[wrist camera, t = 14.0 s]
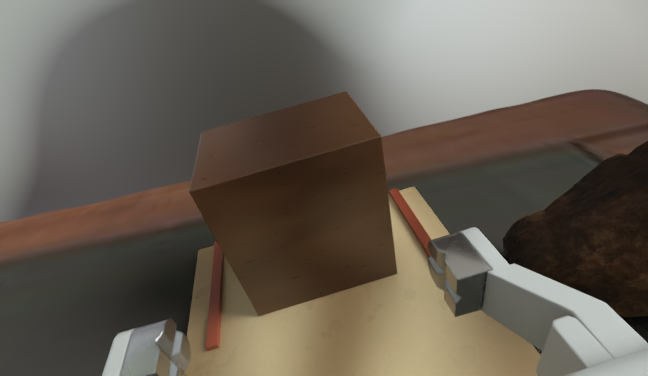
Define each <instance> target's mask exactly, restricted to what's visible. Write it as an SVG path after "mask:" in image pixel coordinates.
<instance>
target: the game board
mask: <svg viewBox="0 0 648 376" xmlns="http://www.w3.org/2000/svg"><path fill="white" fill-rule="evenodd" d="M388 197H389V206H390V214H391V223H392V231H393V240H394V248H395V257H396V265H397V274H395V275H392V276H389V277H385V278H382V279H379V280H376V281H372V282H369V283H366V284H363V285H359V286H356V287H353V288H350V289H346V290H343V291H340V292H336V293H333V294H330V295H327V296H323V297H320V298H317V299H314V300H310V301H307V302H304V303H301V304H297V305H294V306H291V307H288V308H284V309H281V310H278V311H275V312H271V313H268V314H265V315H262V316H258V314H257V312H256V310H255V309H254V307H253V305H252V303H251V302H250V300H249V298H248V296H247V294H246V293H245V291H244V289H243V287H242V285H241V284H240V282H239V280H238V278H237V276H236V275H235V273H234V271H233V269H232V267H231V266H230V264H229V262H228V260H227V259H226V257H225V255H224V253H223V251H222V250H221V248H220V246H219V244H218V242H217V241H215V242H214V246H211V247H207V248H204V249H200V250H199V251H198V258H197V265H196V273H195V280H194V287H193V295H192V302H191V309H190V316H189V324H188V331H187V339H188V341H189V343H190V351H191V357H190V364H189V365H188V367H187V368H186V370H185V371H184V373H185V374H186V376H539V375H538V374H537V372H536V367H537V364H538V361H539V358H540V354H539V353H538V352H537V350H536V349H535V348H534V346H533V345H532V344H531V343H530V342H528V341H526V340H525V339H523V338H522V337H520V336H519V335H517V334H516V333H514V332H513V331H511V330H510V329H508V328H507V327H505V326H504V325H502V324H501V323H499V322H498V321H496V320H495V319H493V318H491V317H490V316H488V315H487V314H485V313H484V312H482V310H479V311H476V312H472V313H468V314H465V315H461V316H458V317H455V316H454V315H453V313H452V311H451V310H450V308H449V306H448V305H447V303H446V301H445V300H444V291H443V290H441V289H439V288H438V287H437V286H436V284H435V283H434V281H433V279H432V276H431V274H430V271H429V267H428V258H429V257H430V255H431V254H430V252H429V251H428V242H429V241H430V240H433V239H437V238H440V237H443V236H446V235H449V233H448V231H447V230H446V229H445V227H444V226H443V225H442V223H441V222H440V221H439V219H438V218H437V216H436V215H435V214H434V212H433V211H432V210H431V208H430V207H429V206H428V204H427V203H426V202H425V200H424V199H423V198H422V196H421V195H420V194H419V192H418V191H417V190H416V188H415V187H410V188H407V189H403V190H400V191H399V190H398V189H397V188H395V189H391V190H389V194H388Z"/></svg>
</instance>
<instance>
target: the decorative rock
mask: <svg viewBox="0 0 648 376" xmlns="http://www.w3.org/2000/svg"><path fill="white" fill-rule="evenodd" d="M503 246H504V250H505V253H506V255H507V257H508V259H509V262H510V264H514V263H515V264H517V265H519V266H522V267H524V268H526V269H529V270H531V271H533V272H536V273H538V274H540V275H543V276H545V277H547V278H550V279H552V280H554V281H557V282H559V283H561V284H564V285H566V286H568V287H571V288H573V289H575V290H578V291H580V292H582V293H585V294H587V295H589V296H592V297H594V298H596V299H598V300H601V301H603V302H605V303H606V304H608V305H609V306H610V307H611V308H612V309H613V310H614V311H615V312H616V313H617V314H618V315H619V316H623V317H636V316H648V141H647V142H645V143H644V144H642V145H640V146H638V147H637V148H635V149H634V150H633V151H632V152H631V153H630V154H617V155H614V156H612V157H610V158H608V159H606V160H604V161H603V162H601V163H600V164H599V165H598V166H596V167H595V168H594V169H593V170H592V171H591V172H589V173H588V174H587V175H586V176H584V177H583V178H582V179H581V180H580V181H579V182H578V183H576V184H575V185H574V186H573V187H572V188H571V189H569V190H568V191H567V192H566V193H564V194H563V195H562V196H560V197H559V198H558V199H556V200H555V201H554V202H552V203H551V204H550V205H549V206H548V207H547V208H546V209H545V210H544V211H538V212H536V213H533V214H531V215H527V216H525V217H523V218H522V219H520V220H518V221H517V222H515V223H514V224H513V225H512V227H511V228H510V229H509V231H508V232H507V233H506V235H505V237H504V238H503Z"/></svg>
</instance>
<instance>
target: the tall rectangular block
mask: <svg viewBox="0 0 648 376" xmlns="http://www.w3.org/2000/svg"><path fill="white" fill-rule="evenodd" d="M189 192H190V194H191V196H192V198H193V199H194V201H195V203H196V205H197V207H198V208H199V210H200V212H201V214H202V216H203V217H204V219H205V221H206V223H207V224H208V226H209V228H210V230H211V232H212V233H213V235H214V237H215V239H216V241H217V242H218V244H219V246H220V248H221V250H222V251H223V253H224V255H225V257H226V259H227V260H228V262H229V264H230V266H231V267H232V269H233V271H234V273H235V275H236V276H237V278H238V280H239V282H240V284H241V285H242V287H243V289H244V291H245V293H246V294H247V296H248V298H249V300H250V302H251V303H252V305H253V307H254V309H255V310H256V312H257V314H258V316H262V315H265V314H268V313H271V312H275V311H278V310H281V309H284V308H288V307H291V306H294V305H297V304H301V303H304V302H307V301H310V300H314V299H317V298H320V297H323V296H327V295H330V294H333V293H336V292H340V291H343V290H346V289H350V288H353V287H356V286H359V285H363V284H366V283H369V282H372V281H376V280H379V279H382V278H385V277H389V276H392V275H395V274H397V265H396V257H395V248H394V240H393V231H392V223H391V214H390V206H389V197H388V189H387V180H386V172H385V163H384V155H383V146H382V138H381V135H380V134H379V133H378V132H377V130H376V129H375V128H374V127H373V125H372V124H371V122H370V121H369V120H368V119H367V117H366V116H365V115H364V114H363V112H362V111H361V110H360V108H359V107H358V106H357V104H356V103H355V102H354V101H353V99H352V98H351V97H350V95H349V94H348V93H347V92H342V93H339V94H335V95H332V96H328V97H325V98H321V99H317V100H314V101H310V102H307V103H303V104H300V105H296V106H292V107H289V108H286V109H282V110H278V111H275V112H271V113H267V114H264V115H261V116H257V117H253V118H250V119H246V120H242V121H239V122H235V123H232V124H228V125H224V126H221V127H218V128H214V129H210V130H207V131H203V132H202V133H201V137H200V142H199V147H198V152H197V157H196V161H195V166H194V171H193V176H192V180H191V185H190V190H189Z"/></svg>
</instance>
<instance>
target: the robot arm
mask: <svg viewBox="0 0 648 376" xmlns="http://www.w3.org/2000/svg"><path fill="white" fill-rule="evenodd" d="M428 251H429V252H430V254H431V255H430V257H429V258H428V267H429V271H430V274H431V276H432V279H433V281H434V283H435V284H436V286H437V287H438V288H439V289H441V290H443V291H444V300H445V301H446V303H447V305H448V306H449V308H450V310H451V311H452V313H453V315H454V316H455V317H458V316H461V315H465V314H468V313H472V312H476V311H479V310H482V312H484V313H485V314H487V315H488V316H490V317H491V318H493V319H495V320H496V321H498V322H499V323H501V324H502V325H504V326H505V327H507V328H508V329H510V330H511V331H513V332H514V333H516V334H517V335H519V336H520V337H522V338H523V339H525V340H526V341H528V342H530V343H531V344H533V345H534V346H536V347H537V348H539V349H540V350H542V353H541V355H540V358H539V361H538V364H537V367H536V372H537V374H538V375H539V376H648V343H647V342H646V341H645V340H644V339H643V338H642V337H641V336H640V335H639V334H638V333H637V332H636V331H635V330H634V329H633V328H632V327H630V326H629V325H628V324H627V323H626V322H625V321H624V320H623V319H622V318H621V317H620V316H619V315H618V314H617V313H616V312H615V311H614V310H613V309H612V308H611V307H610V306H609V305H608V304H606V303H605V302H603V301H601V300H598V299H596V298H594V297H592V296H589V295H587V294H585V293H582V292H580V291H578V290H575V289H573V288H571V287H568V286H566V285H564V284H561V283H559V282H557V281H554V280H552V279H550V278H547V277H545V276H543V275H540V274H538V273H536V272H533V271H531V270H529V269H526V268H524V267H522V266H519V265H517V264H515V263H514V264H510V265H509V263H508V262H507V261H506V260H505V259H504V258H503V257H502V255H501V254H500V253H499V252H498V251H497V250H496V249H495V247H494V246H493V245H492V244H491V243H490V242H489V241H488V240H487V238H486V237H485V236H484V235H483V234H482V233H481V232H480V230H479V229H477V228H475V227H473V228H470V229H467V230H463V231H460V232H456V233H452V234H449V235H446V236H443V237H440V238H437V239H433V240H430V241H429V242H428ZM176 327H177V324H176V323H175V322H174V321H173V320H172V319H168V320H164V321H160V322H157V323H153V324H149V325H146V326H142V327H138V328H135V329H131V330H128V331H124V332H121V333H118V334H117V336H116V337H115V338H114V340H113V343H112V346H111V349H110V352H109V355H108V358H107V362H106V365H105V368H104V371H103V374H102V376H186V374H185V373H184V371H185V370H186V368H187V367H188V365H189V364H190V357H191V351H190V343H189V341H188V339H187V337H186V335H185V334H184V333H183V332H180V331H177V330H176Z"/></svg>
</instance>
